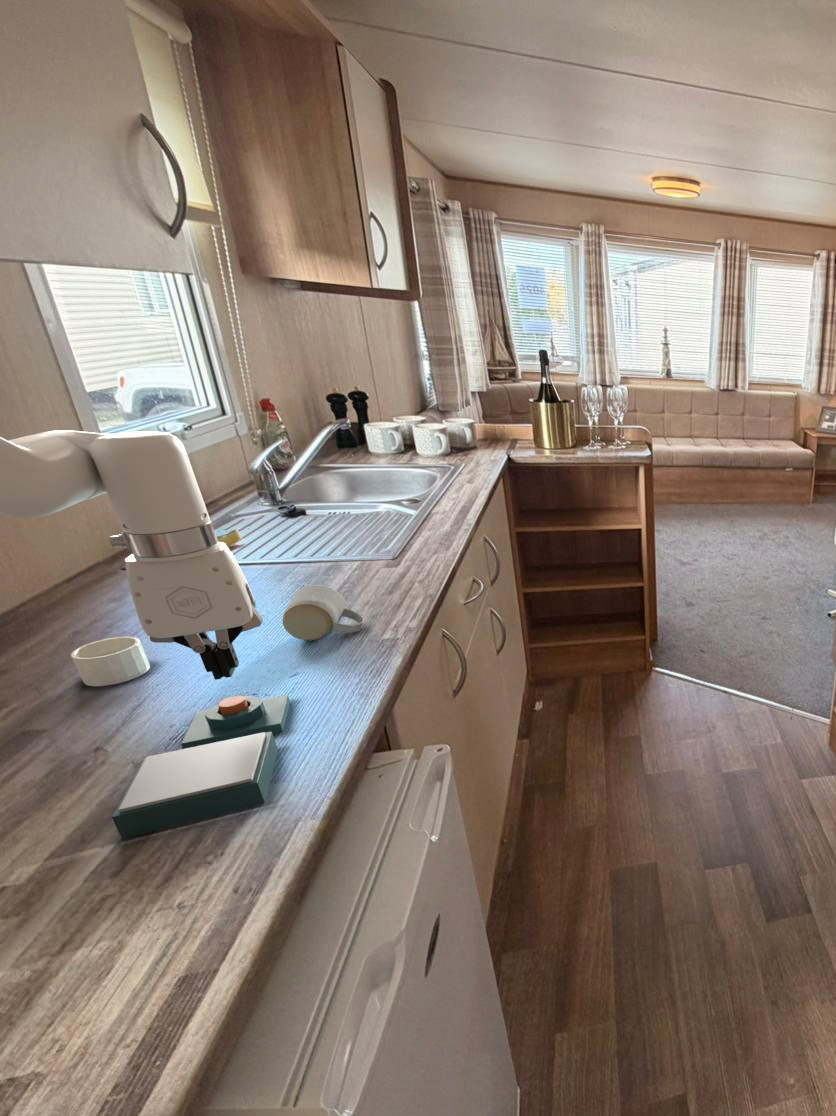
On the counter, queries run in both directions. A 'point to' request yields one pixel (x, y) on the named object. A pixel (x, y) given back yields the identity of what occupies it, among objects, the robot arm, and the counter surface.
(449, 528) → the counter surface
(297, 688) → the counter surface
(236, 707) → the button
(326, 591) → the ceramic mug
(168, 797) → the scale
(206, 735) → the pad
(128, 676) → the bowl
